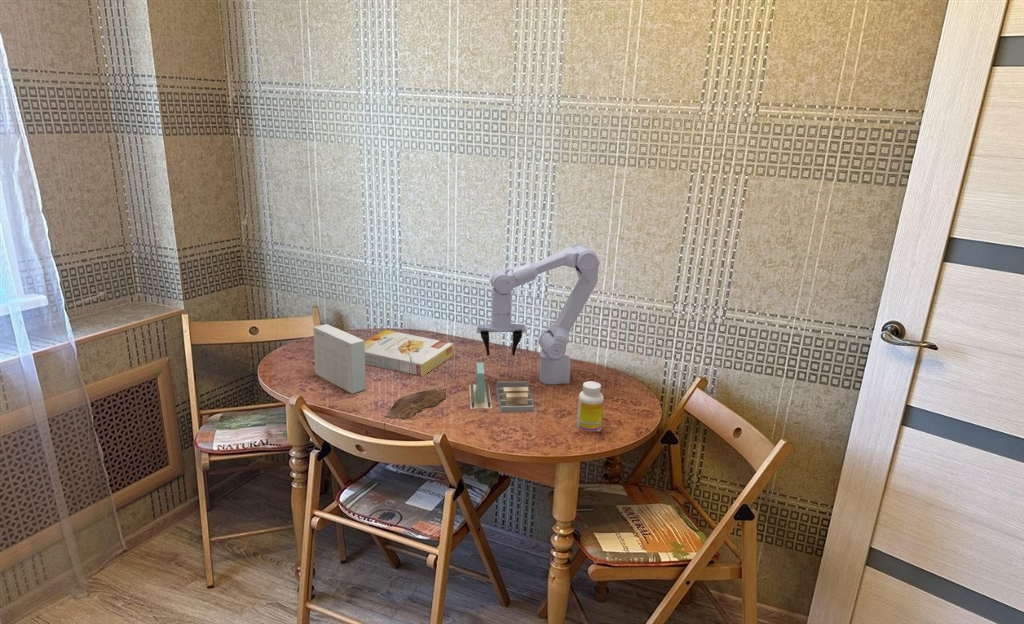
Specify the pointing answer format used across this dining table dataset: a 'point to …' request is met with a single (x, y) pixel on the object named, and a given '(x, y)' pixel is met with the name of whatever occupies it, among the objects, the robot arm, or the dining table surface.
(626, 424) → the dining table surface
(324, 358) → the skincare box
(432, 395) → the wooden fragment
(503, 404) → the rack
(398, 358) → the cereal box
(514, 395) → the offcut front
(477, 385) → the teal rectangular block
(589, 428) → the supplement bottle
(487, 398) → the holder
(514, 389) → the block
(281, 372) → the dining table surface
